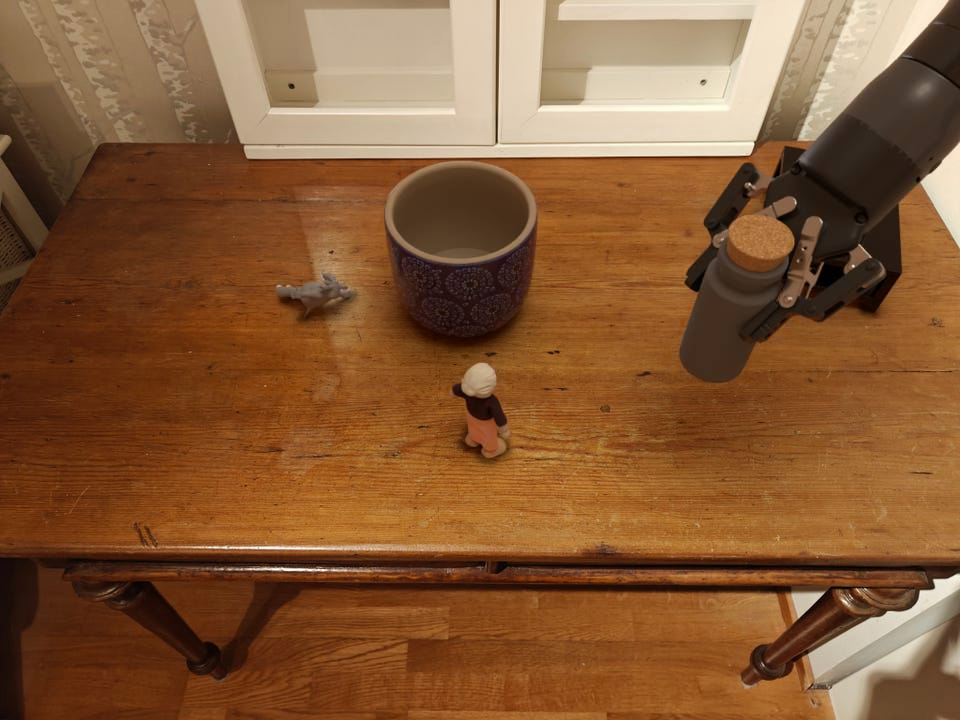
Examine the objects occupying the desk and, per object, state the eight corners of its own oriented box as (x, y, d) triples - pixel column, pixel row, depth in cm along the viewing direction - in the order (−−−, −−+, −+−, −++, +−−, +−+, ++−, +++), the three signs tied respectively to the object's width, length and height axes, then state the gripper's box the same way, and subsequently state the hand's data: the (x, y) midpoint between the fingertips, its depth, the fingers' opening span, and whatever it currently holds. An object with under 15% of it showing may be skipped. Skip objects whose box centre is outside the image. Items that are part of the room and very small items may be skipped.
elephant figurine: (313, 268, 90) (366, 270, 85) (312, 314, 91) (366, 319, 86) (250, 266, 81) (306, 269, 77) (250, 317, 82) (306, 323, 77)
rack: (872, 206, 96) (897, 165, 90) (874, 313, 84) (902, 273, 79) (767, 187, 98) (784, 145, 93) (755, 287, 87) (774, 247, 81)
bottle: (675, 377, 62) (719, 257, 50) (680, 327, 65) (722, 203, 53) (743, 389, 61) (804, 269, 49) (744, 338, 64) (802, 214, 52)
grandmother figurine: (521, 441, 74) (527, 372, 64) (504, 469, 72) (506, 402, 62) (460, 410, 77) (456, 339, 66) (441, 437, 75) (434, 367, 64)
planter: (534, 354, 81) (543, 263, 69) (392, 355, 81) (376, 265, 69) (528, 252, 91) (534, 158, 79) (401, 253, 91) (388, 159, 79)
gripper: (796, 73, 52) (641, 248, 58) (965, 181, 44) (766, 369, 50) (821, 113, 57) (677, 269, 63) (974, 215, 50) (794, 380, 56)
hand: (717, 313), depth 57 cm, fingers closed on bottle, 6 cm apart
